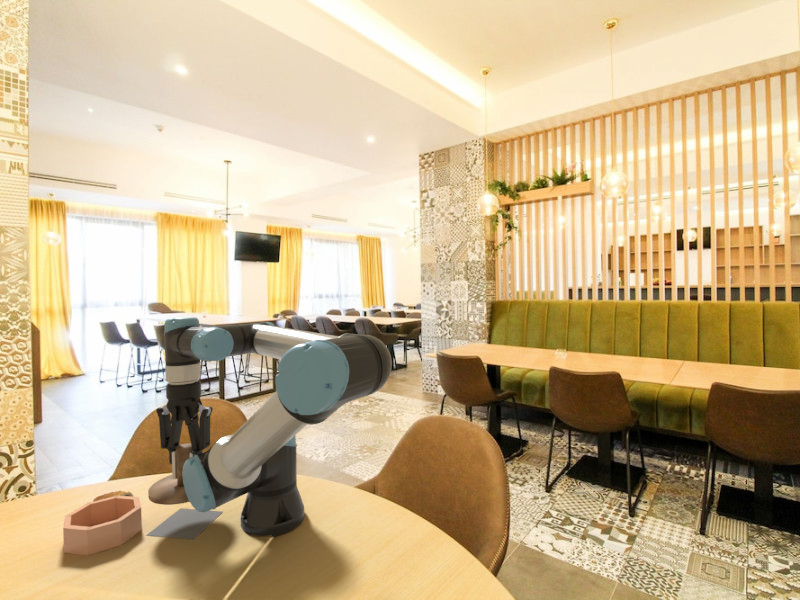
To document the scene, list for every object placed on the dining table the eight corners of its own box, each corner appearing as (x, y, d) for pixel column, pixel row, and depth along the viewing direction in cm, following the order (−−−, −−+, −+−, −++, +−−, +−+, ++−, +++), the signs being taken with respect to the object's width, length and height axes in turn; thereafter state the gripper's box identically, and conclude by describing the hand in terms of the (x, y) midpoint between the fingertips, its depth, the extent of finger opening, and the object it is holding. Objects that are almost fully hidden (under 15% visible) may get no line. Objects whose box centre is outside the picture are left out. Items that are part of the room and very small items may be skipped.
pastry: (85, 511, 109) (84, 496, 109) (106, 498, 116) (106, 485, 116) (116, 513, 108) (116, 499, 108) (137, 501, 115) (136, 487, 115)
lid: (235, 475, 108) (234, 435, 108) (196, 506, 92) (194, 460, 92) (179, 472, 111) (177, 434, 110) (131, 502, 95) (130, 457, 95)
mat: (223, 513, 107) (223, 511, 107) (193, 542, 95) (193, 539, 95) (180, 510, 109) (180, 508, 109) (146, 537, 97) (146, 535, 97)
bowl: (154, 522, 103) (154, 498, 103) (105, 559, 89) (104, 531, 89) (103, 517, 106) (102, 494, 105) (47, 553, 91) (46, 526, 91)
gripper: (225, 378, 103) (227, 472, 104) (162, 377, 106) (165, 469, 106) (206, 385, 96) (209, 486, 96) (140, 384, 99) (143, 482, 99)
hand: (186, 477), depth 101 cm, fingers closed on lid, 4 cm apart
